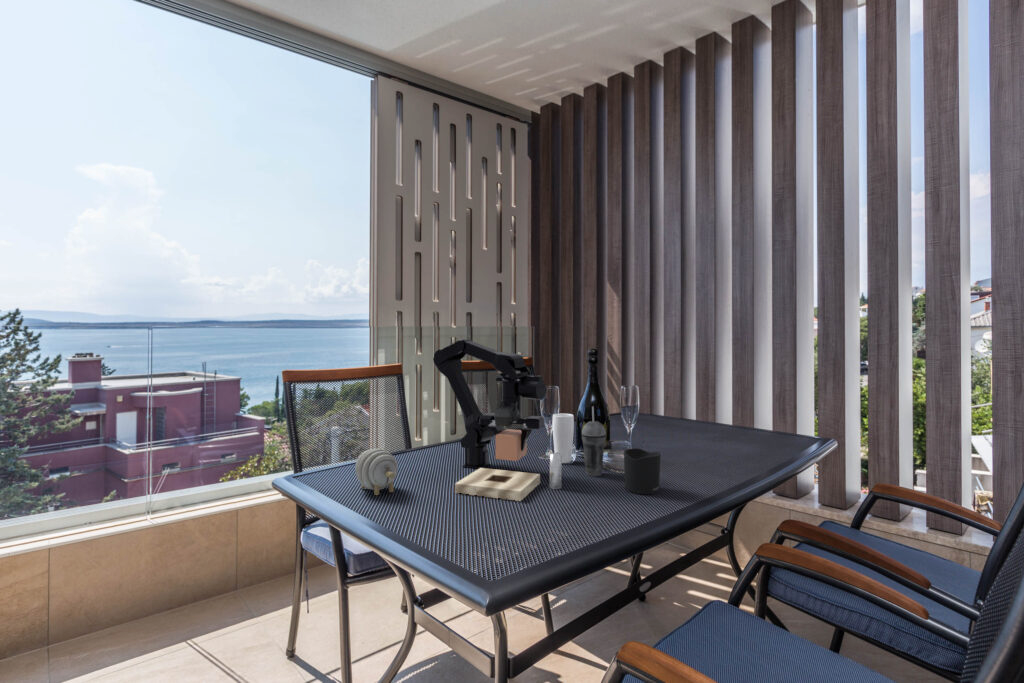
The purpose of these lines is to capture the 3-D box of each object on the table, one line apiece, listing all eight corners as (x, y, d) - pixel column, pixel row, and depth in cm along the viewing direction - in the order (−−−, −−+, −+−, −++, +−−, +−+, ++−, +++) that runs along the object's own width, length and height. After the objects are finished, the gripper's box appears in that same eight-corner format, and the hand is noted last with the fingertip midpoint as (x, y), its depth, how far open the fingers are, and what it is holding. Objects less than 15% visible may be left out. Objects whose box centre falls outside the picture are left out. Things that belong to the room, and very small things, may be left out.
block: (495, 458, 152) (495, 434, 152) (506, 451, 160) (506, 429, 160) (516, 461, 150) (516, 436, 149) (526, 453, 158) (527, 430, 158)
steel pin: (548, 488, 140) (548, 454, 140) (551, 484, 143) (551, 452, 143) (559, 489, 139) (559, 455, 139) (562, 486, 142) (562, 453, 142)
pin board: (455, 493, 136) (455, 483, 136) (480, 476, 151) (480, 467, 151) (520, 501, 130) (520, 491, 130) (540, 483, 145) (540, 474, 145)
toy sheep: (377, 480, 147) (377, 441, 147) (413, 493, 136) (413, 451, 135) (343, 488, 140) (342, 447, 139) (377, 503, 128) (377, 458, 128)
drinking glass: (573, 459, 170) (573, 413, 170) (573, 464, 163) (574, 417, 163) (552, 458, 171) (552, 413, 170) (552, 464, 164) (552, 416, 164)
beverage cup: (609, 472, 155) (609, 405, 155) (602, 478, 149) (602, 408, 148) (585, 469, 158) (585, 403, 158) (577, 475, 152) (578, 406, 151)
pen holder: (631, 496, 133) (631, 457, 133) (618, 485, 143) (618, 449, 142) (666, 494, 135) (666, 456, 135) (651, 483, 144) (651, 447, 144)
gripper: (471, 398, 150) (471, 452, 151) (533, 402, 144) (532, 459, 144) (486, 394, 161) (486, 444, 161) (545, 397, 154) (544, 450, 155)
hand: (511, 449), depth 155 cm, fingers closed on block, 6 cm apart
